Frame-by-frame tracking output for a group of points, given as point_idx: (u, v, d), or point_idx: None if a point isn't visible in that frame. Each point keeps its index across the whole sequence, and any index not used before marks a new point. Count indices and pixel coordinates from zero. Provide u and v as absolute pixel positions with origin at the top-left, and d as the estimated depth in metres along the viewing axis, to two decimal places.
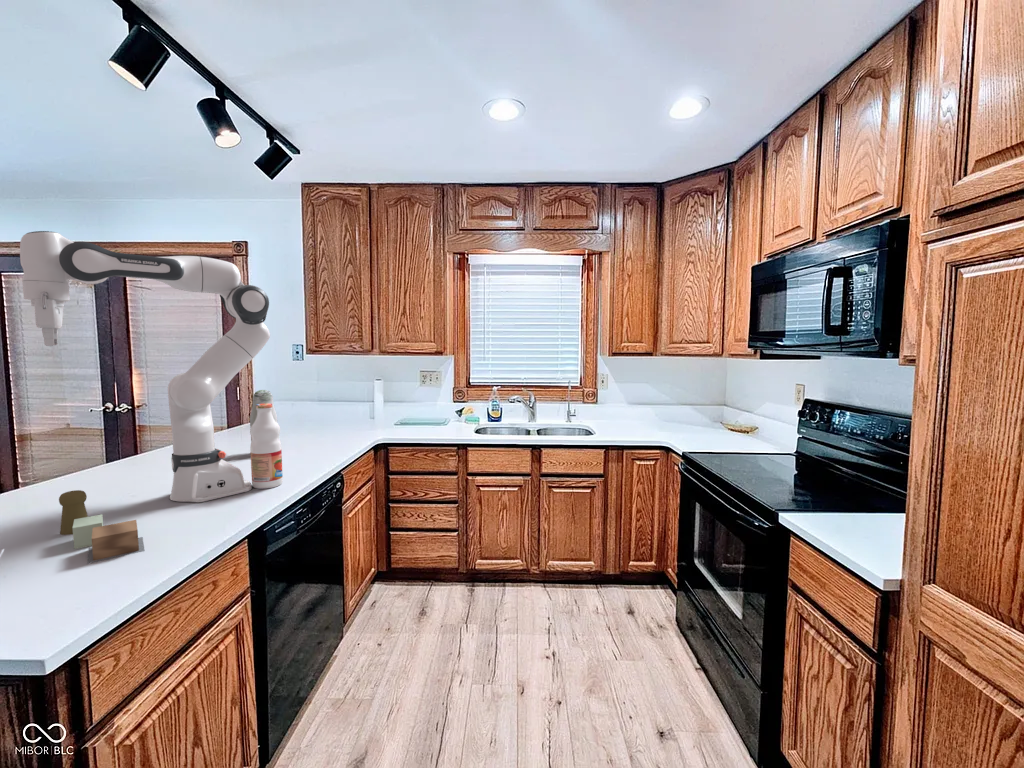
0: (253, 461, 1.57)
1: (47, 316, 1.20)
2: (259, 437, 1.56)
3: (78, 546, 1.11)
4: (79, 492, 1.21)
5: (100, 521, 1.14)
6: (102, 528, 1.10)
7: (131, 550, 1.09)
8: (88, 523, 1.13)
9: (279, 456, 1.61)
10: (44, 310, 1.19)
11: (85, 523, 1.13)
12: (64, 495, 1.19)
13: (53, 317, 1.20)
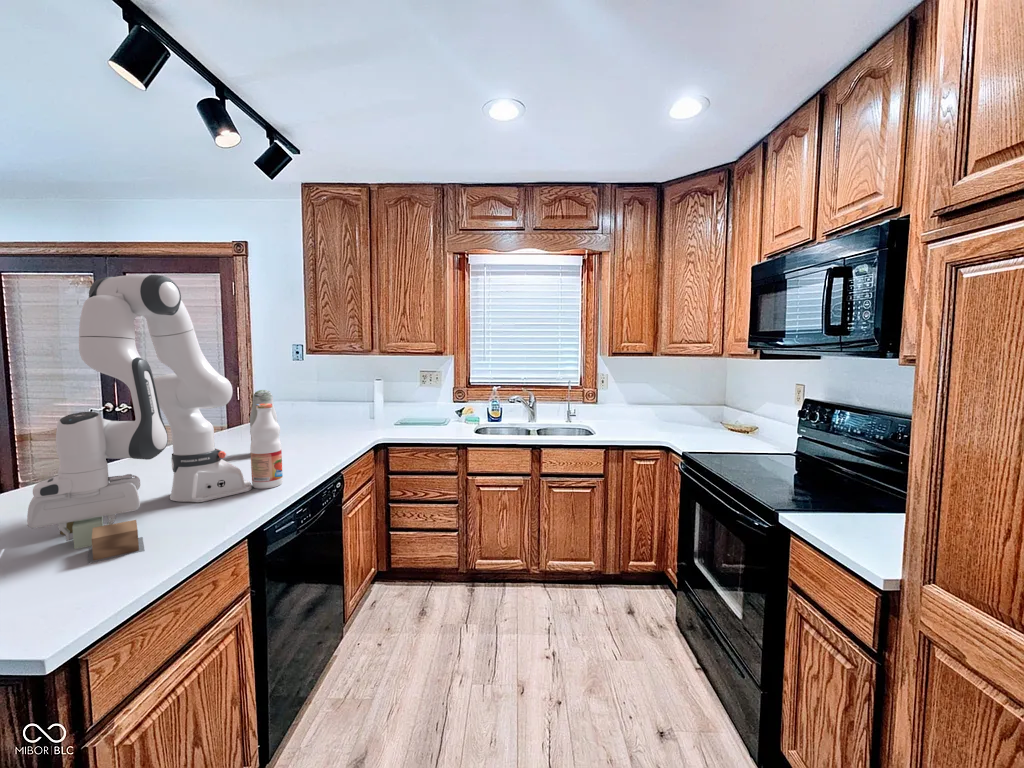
0: (253, 461, 1.57)
1: None
2: (259, 437, 1.56)
3: (78, 546, 1.11)
4: None
5: (100, 521, 1.14)
6: (102, 528, 1.10)
7: (131, 550, 1.09)
8: (88, 523, 1.13)
9: (279, 456, 1.61)
10: (137, 491, 1.20)
11: (85, 522, 1.13)
12: None
13: None
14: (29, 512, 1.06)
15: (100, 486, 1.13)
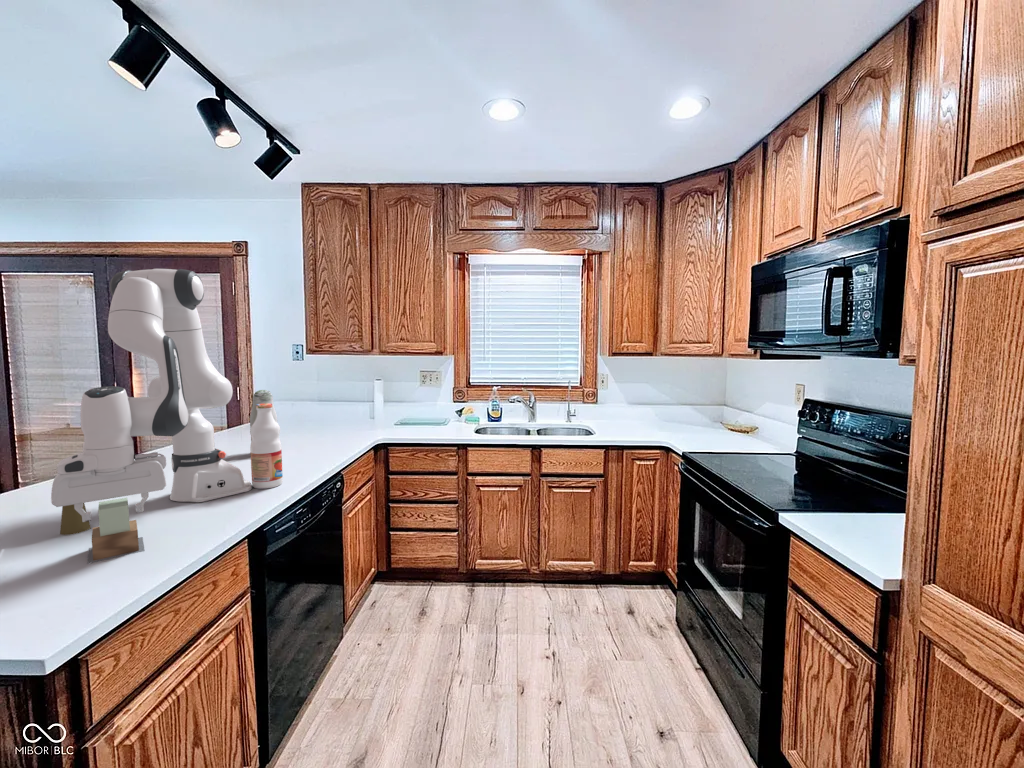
0: (253, 461, 1.57)
1: None
2: (259, 437, 1.56)
3: (104, 529, 1.06)
4: None
5: (126, 504, 1.10)
6: None
7: (131, 550, 1.09)
8: (114, 506, 1.08)
9: (279, 456, 1.61)
10: None
11: (110, 505, 1.08)
12: None
13: None
14: (53, 489, 1.01)
15: (126, 463, 1.08)
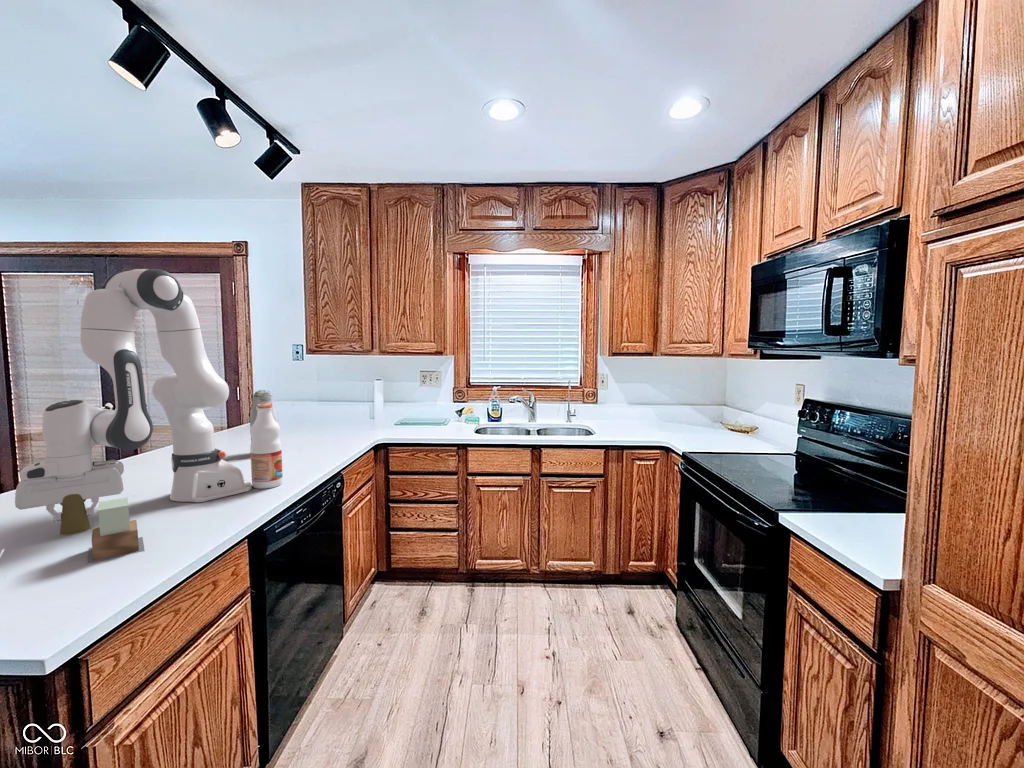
0: (253, 461, 1.57)
1: (122, 481, 1.27)
2: (259, 437, 1.56)
3: (104, 529, 1.06)
4: None
5: (126, 504, 1.10)
6: None
7: (131, 550, 1.09)
8: (114, 506, 1.08)
9: (279, 456, 1.61)
10: None
11: (110, 505, 1.08)
12: None
13: None
14: (17, 494, 1.13)
15: (85, 470, 1.19)
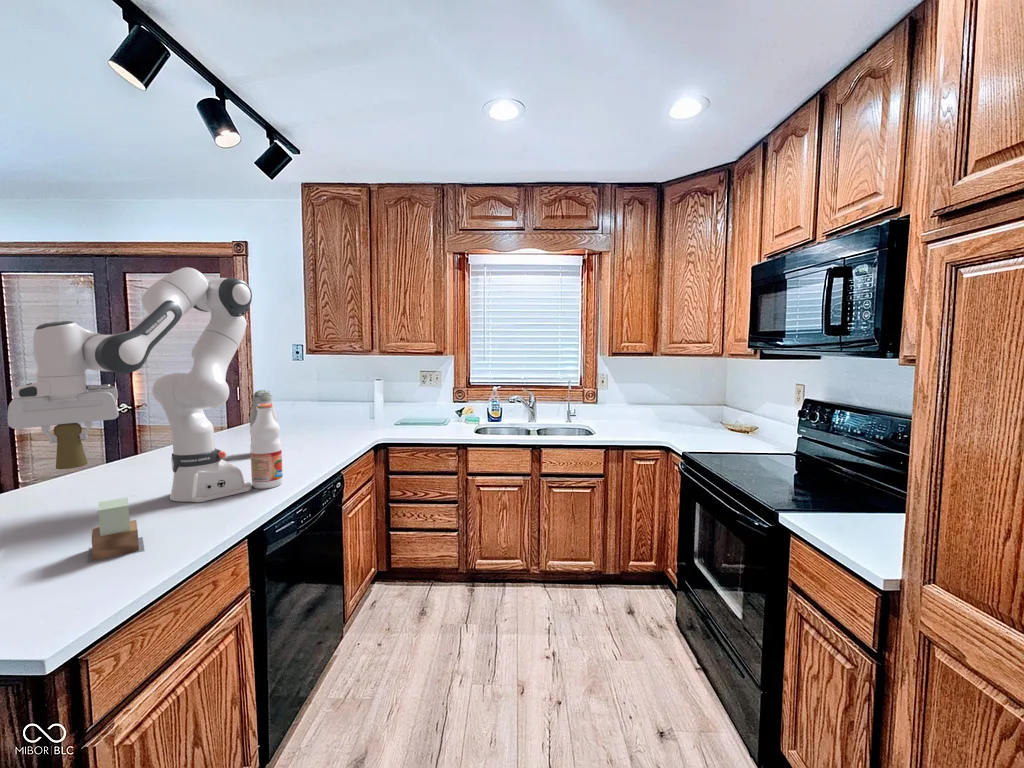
0: (253, 461, 1.57)
1: None
2: (259, 437, 1.56)
3: (104, 529, 1.06)
4: (73, 424, 1.19)
5: (126, 504, 1.10)
6: None
7: (131, 550, 1.09)
8: (114, 506, 1.08)
9: (279, 456, 1.61)
10: (115, 402, 1.25)
11: (110, 505, 1.08)
12: (58, 426, 1.17)
13: None
14: (9, 412, 1.11)
15: (78, 392, 1.17)
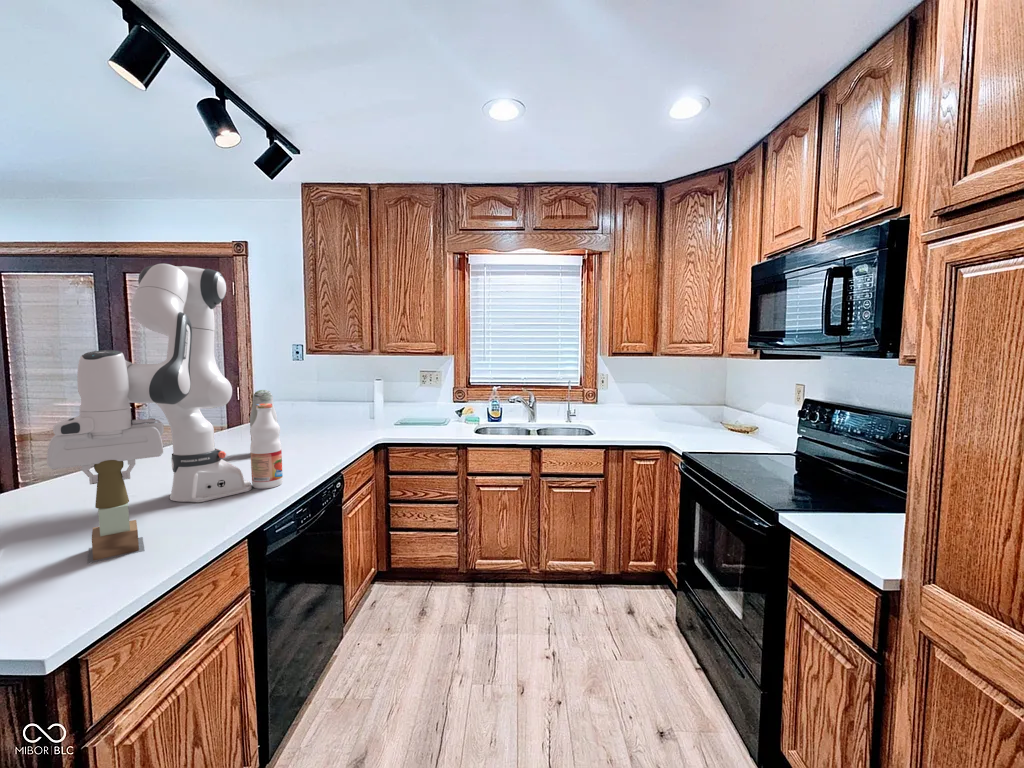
0: (253, 461, 1.57)
1: None
2: (259, 437, 1.56)
3: (104, 529, 1.06)
4: None
5: (126, 504, 1.09)
6: None
7: (131, 550, 1.09)
8: None
9: (279, 456, 1.61)
10: None
11: None
12: None
13: None
14: (49, 451, 1.00)
15: (123, 427, 1.07)
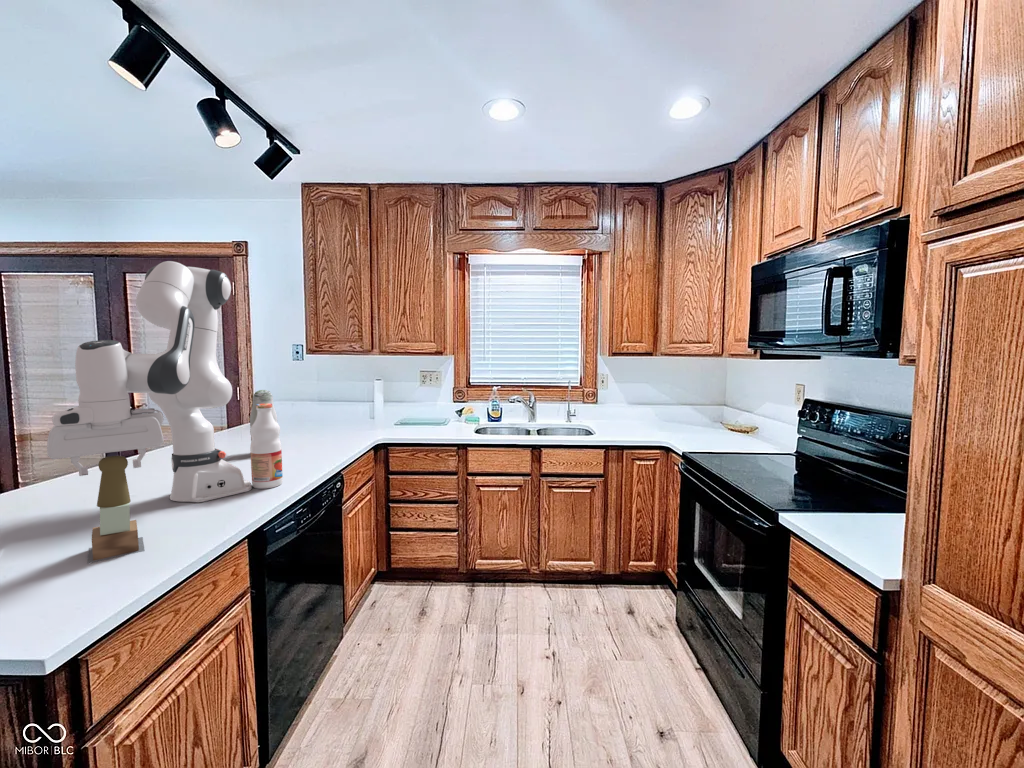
0: (253, 461, 1.57)
1: None
2: (259, 437, 1.56)
3: (104, 529, 1.06)
4: (120, 458, 1.09)
5: None
6: None
7: (131, 550, 1.09)
8: None
9: (279, 456, 1.61)
10: None
11: None
12: (104, 460, 1.07)
13: None
14: (49, 441, 1.00)
15: (122, 418, 1.07)
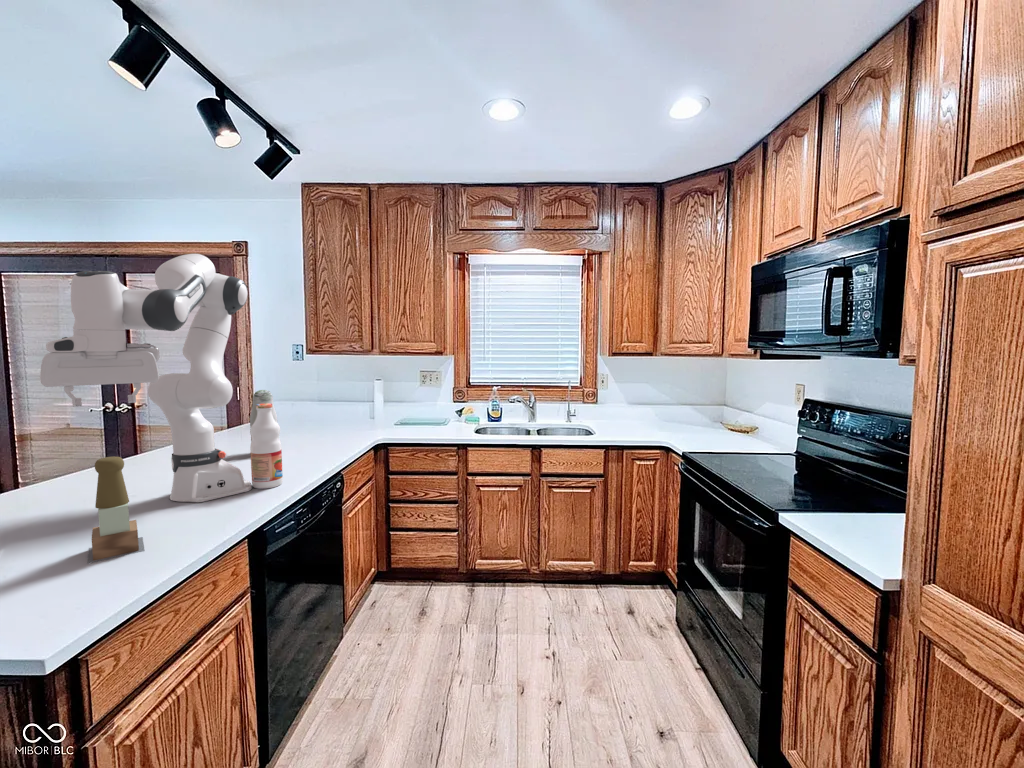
0: (253, 461, 1.57)
1: None
2: (259, 437, 1.56)
3: (104, 529, 1.06)
4: (116, 458, 1.08)
5: (126, 504, 1.09)
6: None
7: (131, 550, 1.09)
8: None
9: (279, 456, 1.61)
10: None
11: None
12: (100, 461, 1.07)
13: None
14: (42, 367, 0.99)
15: (118, 349, 1.06)
